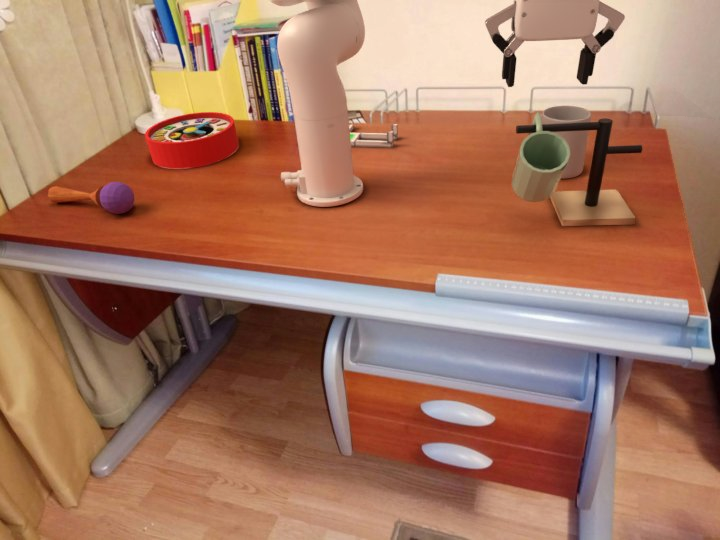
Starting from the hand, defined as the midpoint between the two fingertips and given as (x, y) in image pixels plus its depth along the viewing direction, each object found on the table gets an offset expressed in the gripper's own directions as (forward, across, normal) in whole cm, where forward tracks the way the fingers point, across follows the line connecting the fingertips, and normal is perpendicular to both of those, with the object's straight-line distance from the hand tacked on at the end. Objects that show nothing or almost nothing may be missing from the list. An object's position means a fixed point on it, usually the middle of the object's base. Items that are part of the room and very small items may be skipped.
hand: (545, 82), depth 75 cm
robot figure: (+24, +33, -40) cm, 58 cm away
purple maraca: (+25, +80, -12) cm, 85 cm away
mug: (+23, -10, -23) cm, 34 cm away
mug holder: (+23, -7, -5) cm, 24 cm away
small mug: (+15, -1, -4) cm, 16 cm away
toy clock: (+25, +69, -39) cm, 83 cm away
